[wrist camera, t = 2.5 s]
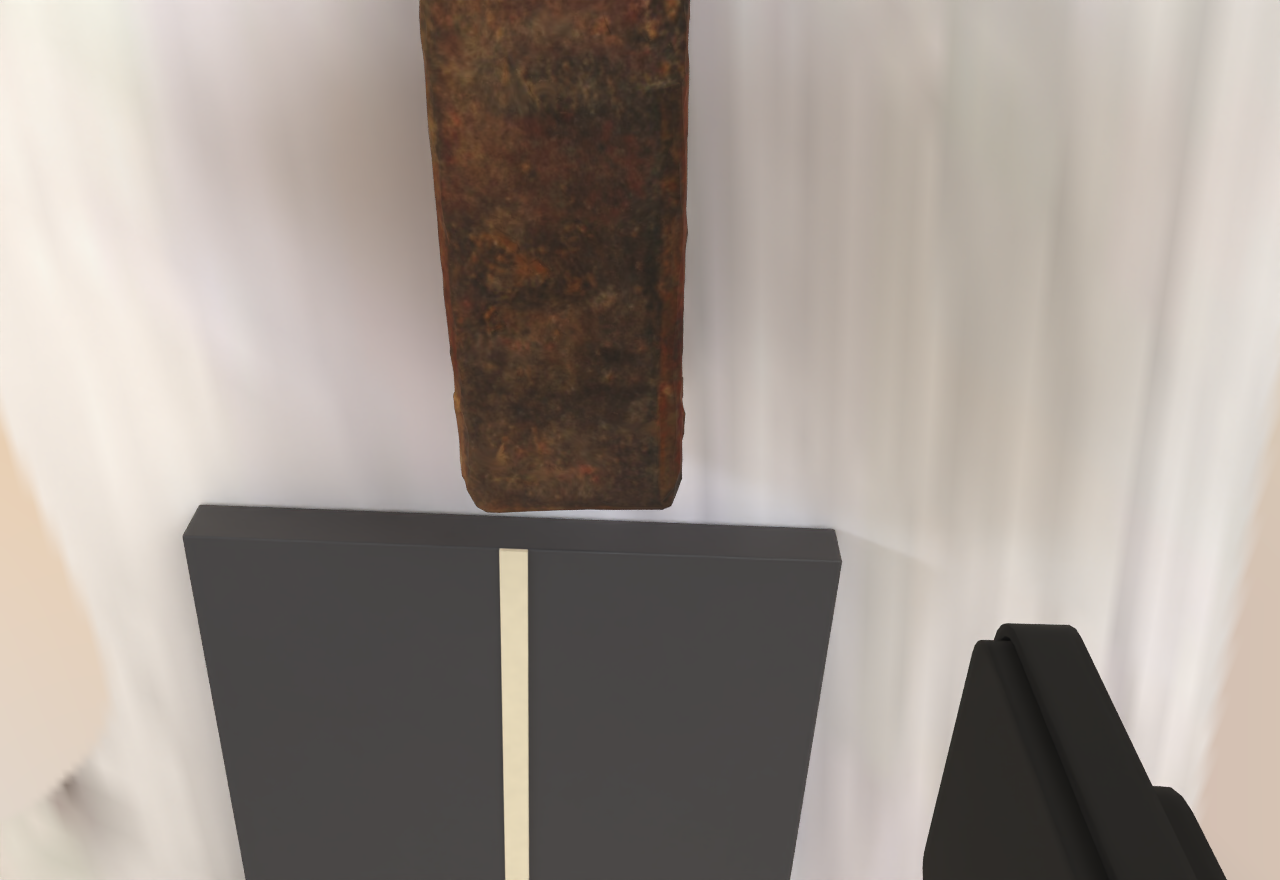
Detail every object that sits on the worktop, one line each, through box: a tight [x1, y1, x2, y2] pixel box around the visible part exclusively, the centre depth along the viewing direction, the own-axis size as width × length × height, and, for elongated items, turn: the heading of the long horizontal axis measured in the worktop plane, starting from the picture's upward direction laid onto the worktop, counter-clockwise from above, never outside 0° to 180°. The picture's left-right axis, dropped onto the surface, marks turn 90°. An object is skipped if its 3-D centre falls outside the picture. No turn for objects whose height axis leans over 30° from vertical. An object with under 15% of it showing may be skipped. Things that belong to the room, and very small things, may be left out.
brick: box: [419, 0, 690, 513], centre depth 21 cm, size 11×4×5 cm, turn 0°
